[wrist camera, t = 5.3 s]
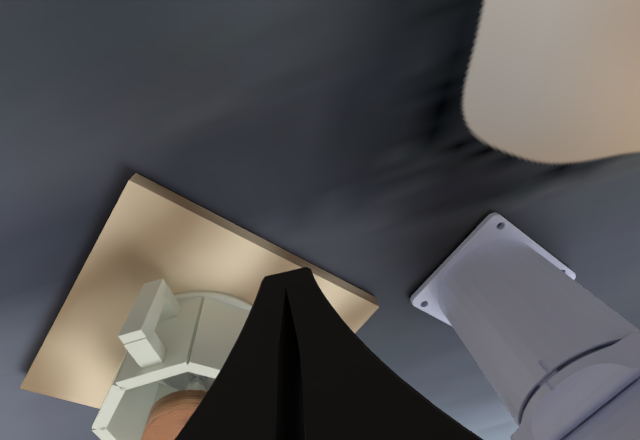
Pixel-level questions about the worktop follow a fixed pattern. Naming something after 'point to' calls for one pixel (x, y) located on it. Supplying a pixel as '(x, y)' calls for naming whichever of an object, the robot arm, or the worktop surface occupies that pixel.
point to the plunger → (176, 406)
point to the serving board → (152, 264)
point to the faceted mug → (167, 351)
